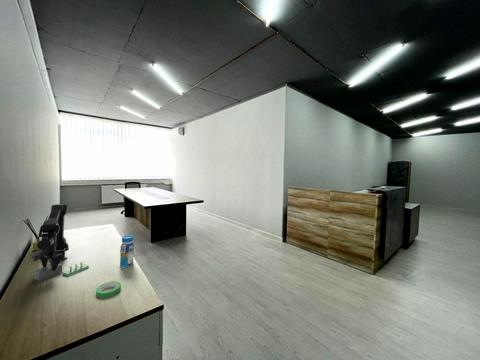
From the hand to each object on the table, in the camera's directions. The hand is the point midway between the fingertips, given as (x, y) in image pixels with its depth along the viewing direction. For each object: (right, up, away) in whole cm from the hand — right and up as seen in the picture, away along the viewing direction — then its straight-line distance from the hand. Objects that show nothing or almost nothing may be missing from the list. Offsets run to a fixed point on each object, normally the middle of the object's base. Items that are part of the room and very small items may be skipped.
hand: (48, 269), depth 117 cm
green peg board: (+11, -4, +7) cm, 13 cm away
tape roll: (+44, -7, -12) cm, 46 cm away
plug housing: (0, -4, 0) cm, 4 cm away
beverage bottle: (+37, -5, +17) cm, 41 cm away
